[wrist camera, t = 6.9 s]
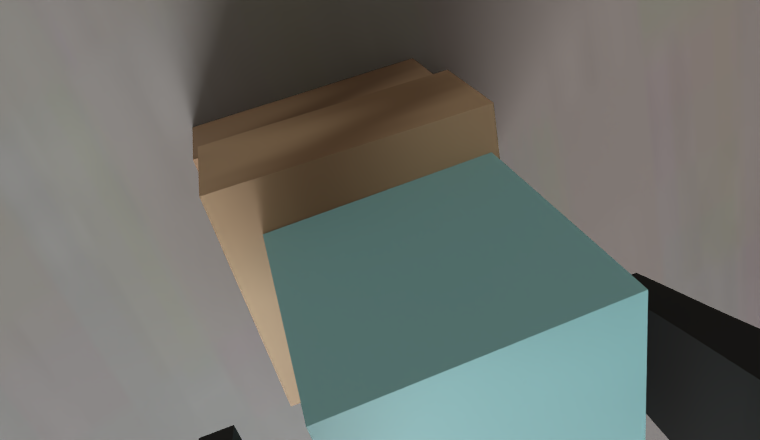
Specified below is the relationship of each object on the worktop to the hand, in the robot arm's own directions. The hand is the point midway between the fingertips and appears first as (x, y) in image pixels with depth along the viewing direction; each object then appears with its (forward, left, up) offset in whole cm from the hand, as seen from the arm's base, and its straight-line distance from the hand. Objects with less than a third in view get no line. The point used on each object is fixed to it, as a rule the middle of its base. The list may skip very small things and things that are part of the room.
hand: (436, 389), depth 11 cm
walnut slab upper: (0, -1, -6) cm, 6 cm away
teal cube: (0, 0, -3) cm, 3 cm away
